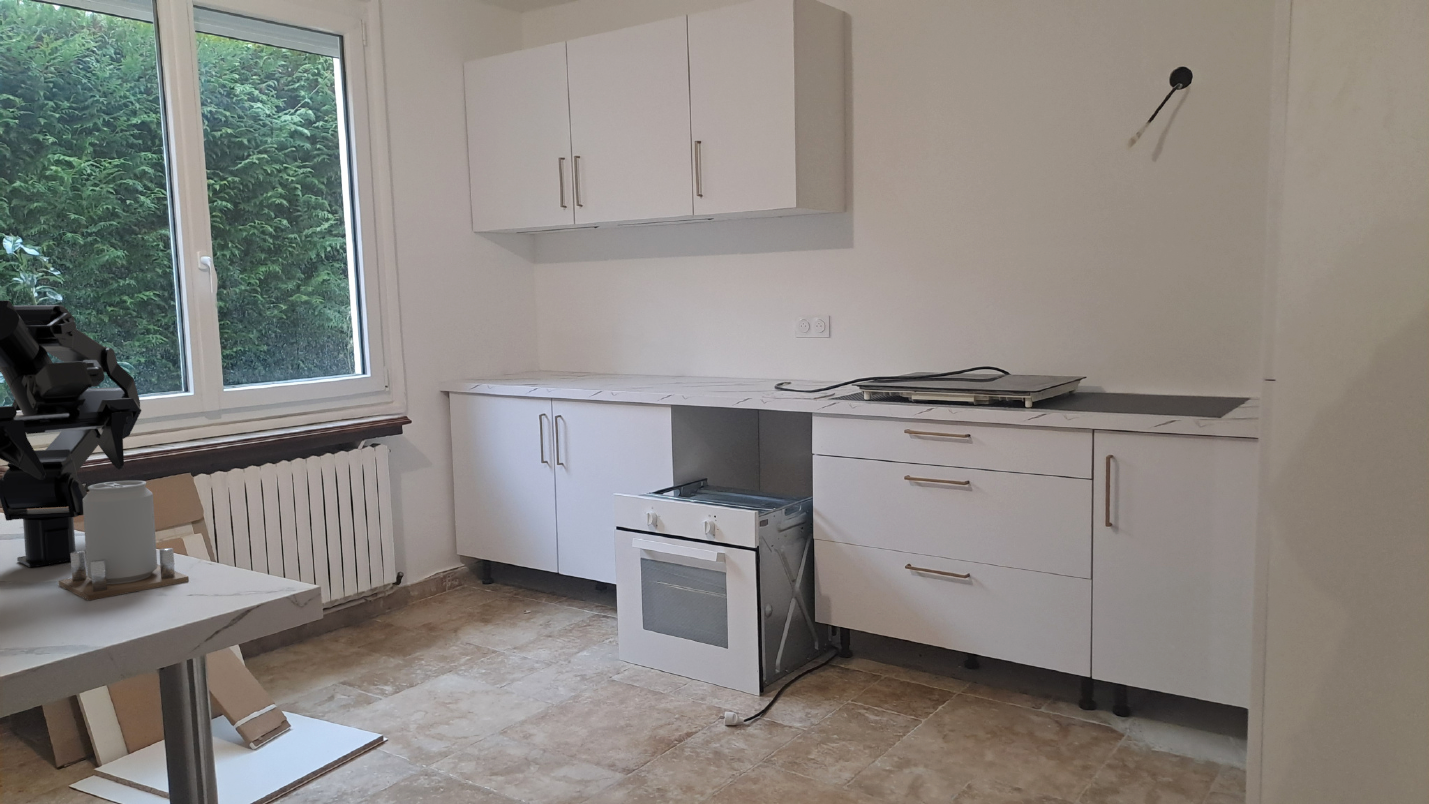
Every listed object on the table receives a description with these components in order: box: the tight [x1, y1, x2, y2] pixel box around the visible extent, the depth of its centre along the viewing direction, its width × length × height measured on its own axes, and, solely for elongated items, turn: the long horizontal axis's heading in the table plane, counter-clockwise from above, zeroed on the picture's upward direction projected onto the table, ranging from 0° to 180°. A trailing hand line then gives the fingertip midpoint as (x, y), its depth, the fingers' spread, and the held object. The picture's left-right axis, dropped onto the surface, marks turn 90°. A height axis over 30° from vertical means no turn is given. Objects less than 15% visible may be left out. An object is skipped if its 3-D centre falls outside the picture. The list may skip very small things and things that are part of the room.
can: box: [83, 480, 158, 584], centre depth 121 cm, size 8×8×12 cm
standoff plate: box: [58, 547, 190, 601], centre depth 121 cm, size 11×11×4 cm
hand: (83, 472), depth 123 cm, fingers open, 9 cm apart
